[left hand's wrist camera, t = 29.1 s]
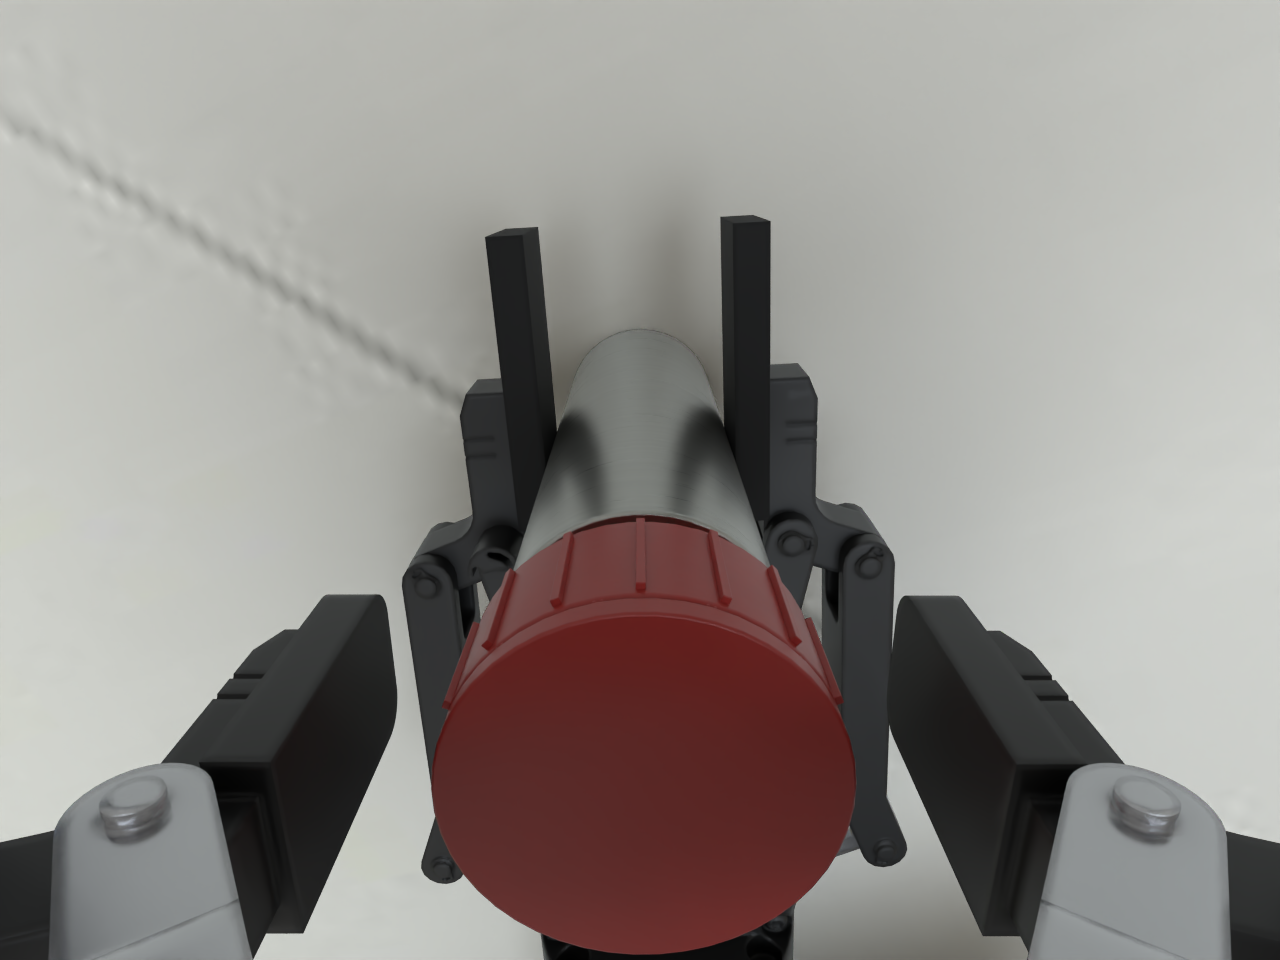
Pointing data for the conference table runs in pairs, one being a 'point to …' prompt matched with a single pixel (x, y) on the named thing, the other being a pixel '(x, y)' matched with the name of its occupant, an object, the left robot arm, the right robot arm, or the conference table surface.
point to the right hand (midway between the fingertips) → (628, 227)
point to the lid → (643, 744)
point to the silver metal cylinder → (641, 449)
